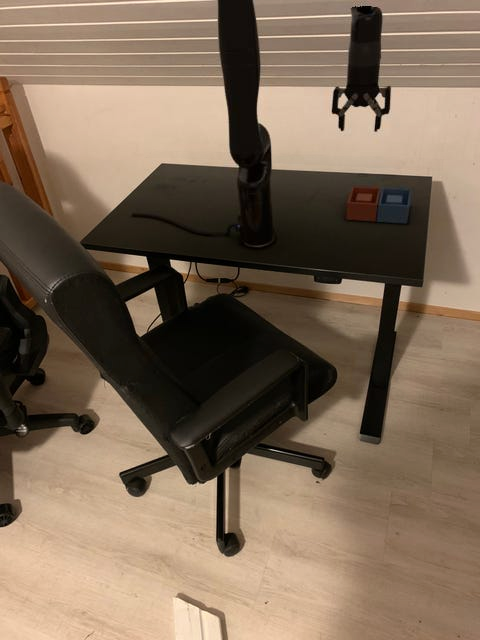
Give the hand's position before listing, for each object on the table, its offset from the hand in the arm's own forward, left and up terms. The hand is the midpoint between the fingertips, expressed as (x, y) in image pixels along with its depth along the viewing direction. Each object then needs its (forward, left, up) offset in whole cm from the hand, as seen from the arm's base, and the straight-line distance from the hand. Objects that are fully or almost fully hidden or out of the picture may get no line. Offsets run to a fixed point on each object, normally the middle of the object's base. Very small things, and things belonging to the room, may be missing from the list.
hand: (359, 130), depth 121 cm
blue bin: (+11, +9, -28) cm, 31 cm away
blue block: (+11, +9, -28) cm, 31 cm away
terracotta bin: (+2, +9, -28) cm, 30 cm away
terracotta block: (+2, +9, -28) cm, 29 cm away
